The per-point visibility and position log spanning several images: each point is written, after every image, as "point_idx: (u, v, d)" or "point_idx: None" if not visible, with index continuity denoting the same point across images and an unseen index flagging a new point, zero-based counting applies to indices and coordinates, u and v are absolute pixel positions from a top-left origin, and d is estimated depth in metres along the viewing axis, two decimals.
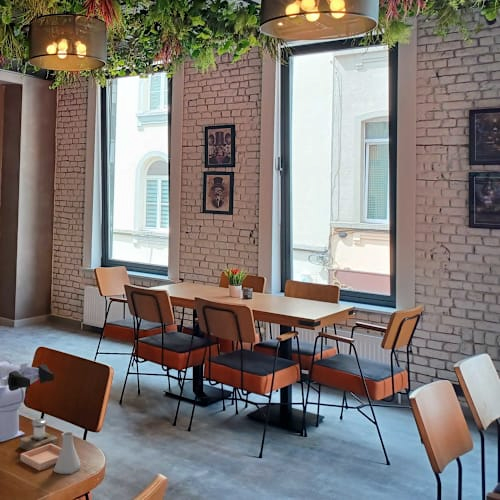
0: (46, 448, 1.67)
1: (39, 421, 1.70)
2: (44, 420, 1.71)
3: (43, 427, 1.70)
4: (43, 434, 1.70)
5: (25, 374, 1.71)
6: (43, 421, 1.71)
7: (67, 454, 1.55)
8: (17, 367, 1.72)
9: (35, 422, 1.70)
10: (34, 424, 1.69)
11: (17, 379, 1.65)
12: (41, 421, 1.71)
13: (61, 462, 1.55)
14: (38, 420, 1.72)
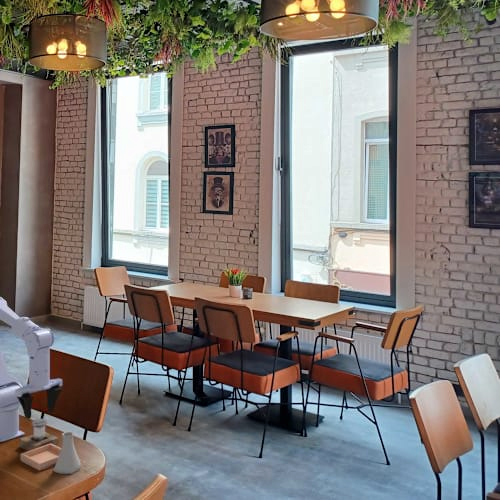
0: (46, 448, 1.67)
1: (39, 421, 1.70)
2: (44, 420, 1.71)
3: (43, 427, 1.70)
4: (43, 434, 1.70)
5: None
6: (43, 421, 1.71)
7: (67, 454, 1.55)
8: (42, 380, 1.67)
9: (35, 422, 1.70)
10: (34, 424, 1.69)
11: None
12: (41, 421, 1.71)
13: (61, 462, 1.55)
14: (38, 420, 1.72)
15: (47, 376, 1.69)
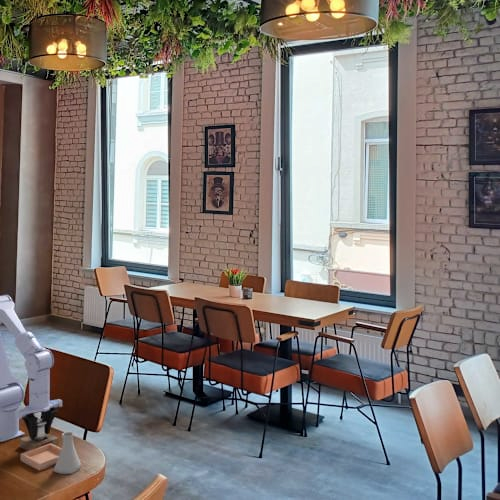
0: (46, 448, 1.67)
1: (39, 421, 1.70)
2: (44, 420, 1.71)
3: (43, 427, 1.70)
4: (43, 434, 1.70)
5: None
6: (43, 421, 1.71)
7: (67, 454, 1.55)
8: (42, 402, 1.68)
9: None
10: None
11: None
12: (41, 421, 1.71)
13: (61, 462, 1.55)
14: (38, 420, 1.72)
15: (47, 398, 1.69)
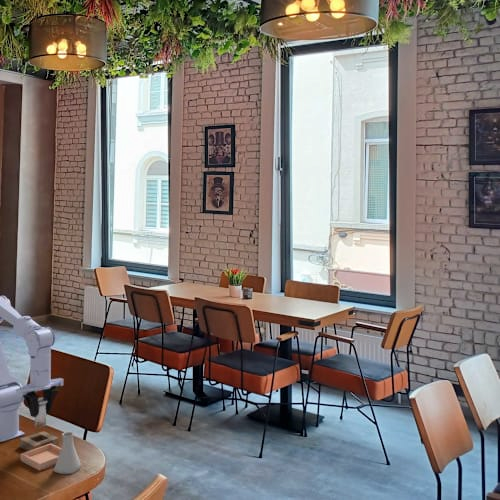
0: (46, 448, 1.67)
1: (40, 400, 1.69)
2: (45, 399, 1.70)
3: (44, 405, 1.68)
4: (44, 413, 1.69)
5: None
6: (44, 399, 1.69)
7: (67, 454, 1.55)
8: (43, 380, 1.66)
9: None
10: None
11: None
12: (42, 399, 1.69)
13: (61, 462, 1.55)
14: (39, 398, 1.70)
15: (48, 376, 1.67)
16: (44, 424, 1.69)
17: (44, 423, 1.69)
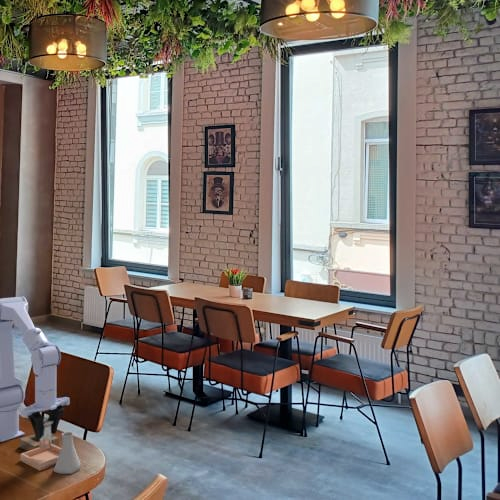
0: None
1: (45, 420, 1.61)
2: (51, 419, 1.62)
3: (49, 426, 1.61)
4: (49, 434, 1.61)
5: None
6: (50, 420, 1.61)
7: (67, 454, 1.55)
8: (48, 399, 1.59)
9: None
10: None
11: None
12: (47, 420, 1.61)
13: (61, 462, 1.55)
14: (44, 418, 1.62)
15: (54, 395, 1.60)
16: (49, 445, 1.62)
17: (49, 444, 1.61)
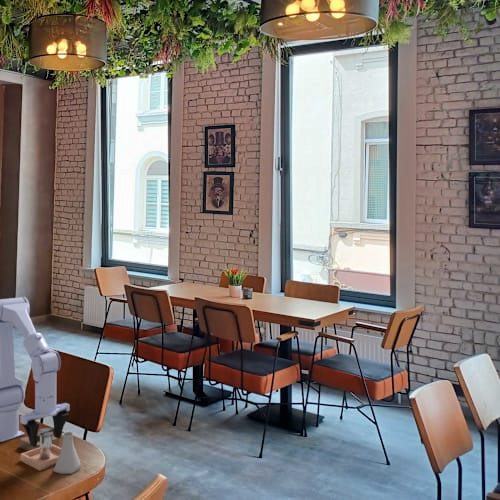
0: None
1: (45, 431, 1.62)
2: (51, 429, 1.63)
3: (50, 437, 1.62)
4: (50, 444, 1.62)
5: None
6: (50, 431, 1.62)
7: (67, 454, 1.55)
8: (48, 406, 1.59)
9: (42, 431, 1.61)
10: (40, 434, 1.60)
11: None
12: (48, 430, 1.62)
13: (61, 462, 1.55)
14: (45, 429, 1.63)
15: (54, 402, 1.60)
16: (49, 456, 1.62)
17: (49, 455, 1.62)
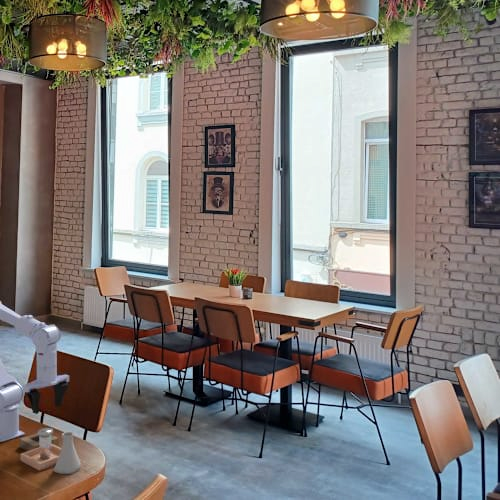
0: None
1: (45, 431, 1.62)
2: (50, 429, 1.63)
3: (49, 437, 1.62)
4: (49, 444, 1.62)
5: None
6: (49, 430, 1.62)
7: (67, 454, 1.55)
8: (49, 376, 1.70)
9: (41, 432, 1.61)
10: (40, 434, 1.60)
11: None
12: (47, 430, 1.62)
13: (61, 462, 1.55)
14: (44, 429, 1.63)
15: (54, 372, 1.72)
16: (49, 456, 1.62)
17: (49, 455, 1.62)
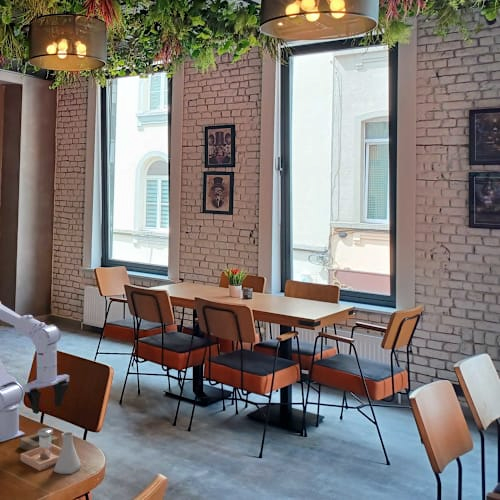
0: None
1: (45, 431, 1.61)
2: (50, 429, 1.63)
3: (49, 437, 1.61)
4: (49, 444, 1.62)
5: None
6: (49, 431, 1.62)
7: (67, 454, 1.55)
8: (49, 376, 1.70)
9: (41, 432, 1.61)
10: (40, 434, 1.60)
11: None
12: (47, 431, 1.62)
13: (61, 462, 1.55)
14: (44, 429, 1.63)
15: (54, 372, 1.72)
16: (49, 456, 1.62)
17: (49, 455, 1.62)
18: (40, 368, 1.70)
